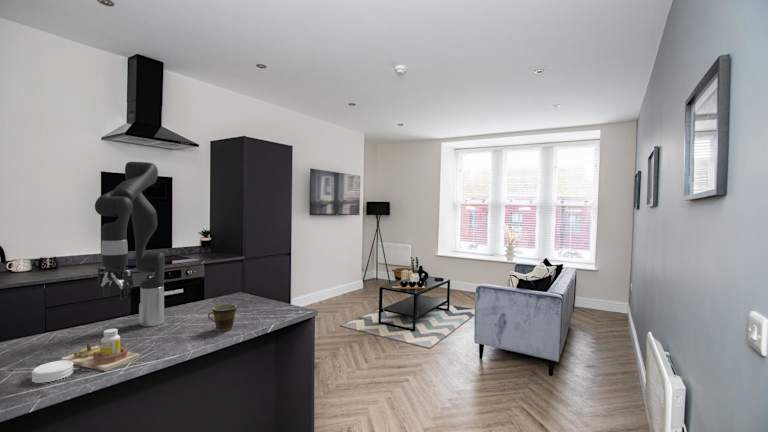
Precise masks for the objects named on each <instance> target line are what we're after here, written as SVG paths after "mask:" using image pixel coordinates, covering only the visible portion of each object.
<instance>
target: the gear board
mask: <svg viewBox="0 0 768 432" xmlns="http://www.w3.org/2000/svg"><path fill="white" fill-rule="evenodd" d="M128 350H129V348H128V347H122V346H120V353H119V354H117V355H114V356H107V357H102V356H101V345H95V346H94V345H93V346H92V343H91V342H89V343H86V347H85V348H84V347H83V348H79V350H78V351H74V352H73V353H72V354H69V355H66V356H63V357H61V358H60V361H61V360H69V361H72V362H73V365H76V366H80V367H84V368H90V369H93V370H98V371H102V370H103V371H104V372H108V371H110V370H112V369H115V368H117V367H119V366H123V365H124V364H126V363H128V362H131V361H134V360H137V359H138V358H139V359H140V357H141V356H140V355H141V354H140V353H138V352H137V353H136V352H133V351H128ZM103 371H102V372H103Z"/></svg>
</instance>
